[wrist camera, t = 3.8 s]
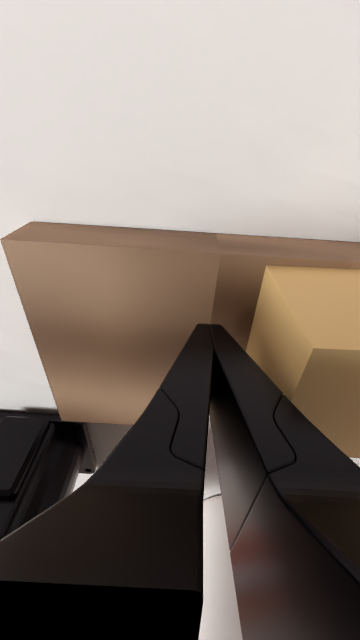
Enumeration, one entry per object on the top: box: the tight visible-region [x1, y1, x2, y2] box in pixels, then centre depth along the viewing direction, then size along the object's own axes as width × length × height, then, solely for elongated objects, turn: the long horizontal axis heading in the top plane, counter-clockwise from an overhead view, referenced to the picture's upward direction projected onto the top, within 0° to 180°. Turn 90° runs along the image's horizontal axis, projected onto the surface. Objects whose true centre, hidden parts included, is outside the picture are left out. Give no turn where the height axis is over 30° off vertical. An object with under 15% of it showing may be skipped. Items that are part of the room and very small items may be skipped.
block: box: [246, 265, 360, 458], centre depth 8 cm, size 4×4×4 cm
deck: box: [0, 222, 360, 425], centre depth 11 cm, size 10×27×3 cm, turn 87°
